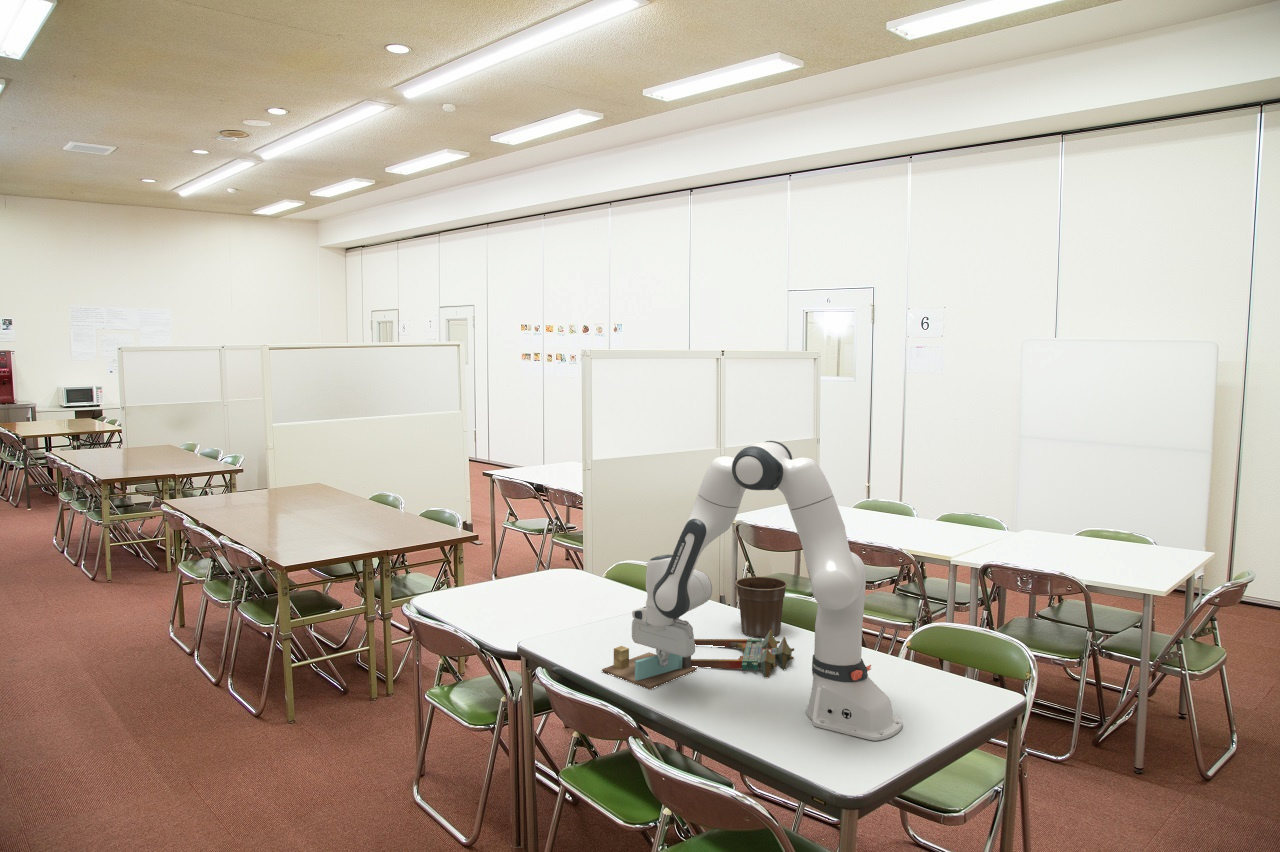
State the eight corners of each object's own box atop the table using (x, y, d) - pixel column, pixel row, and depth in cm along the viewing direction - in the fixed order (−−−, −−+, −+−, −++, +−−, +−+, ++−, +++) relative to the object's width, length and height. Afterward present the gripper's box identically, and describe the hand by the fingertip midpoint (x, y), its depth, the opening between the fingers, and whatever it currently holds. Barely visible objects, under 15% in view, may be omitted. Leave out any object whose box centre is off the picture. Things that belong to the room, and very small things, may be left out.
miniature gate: (695, 629, 256) (794, 629, 250) (696, 647, 256) (795, 647, 250) (681, 659, 230) (792, 660, 224) (683, 679, 230) (793, 680, 224)
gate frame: (696, 670, 231) (697, 638, 230) (649, 689, 217) (650, 655, 216) (649, 654, 243) (649, 624, 242) (602, 671, 229) (602, 639, 229)
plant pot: (723, 631, 265) (724, 581, 264) (756, 621, 276) (757, 573, 275) (763, 644, 253) (764, 592, 252) (796, 633, 264) (797, 583, 263)
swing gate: (683, 668, 230) (683, 649, 229) (638, 681, 220) (638, 661, 219) (679, 666, 231) (679, 647, 231) (634, 679, 221) (634, 659, 221)
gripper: (700, 619, 218) (700, 671, 219) (643, 605, 233) (644, 654, 233) (684, 625, 214) (684, 678, 215) (627, 610, 228) (628, 660, 229)
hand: (663, 665), depth 224 cm, fingers closed, pressing on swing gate
